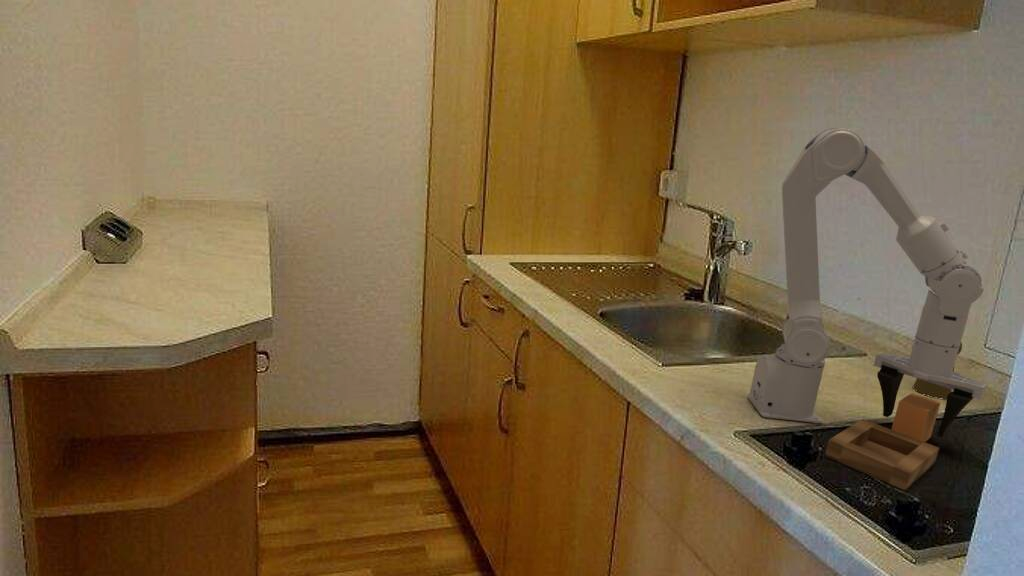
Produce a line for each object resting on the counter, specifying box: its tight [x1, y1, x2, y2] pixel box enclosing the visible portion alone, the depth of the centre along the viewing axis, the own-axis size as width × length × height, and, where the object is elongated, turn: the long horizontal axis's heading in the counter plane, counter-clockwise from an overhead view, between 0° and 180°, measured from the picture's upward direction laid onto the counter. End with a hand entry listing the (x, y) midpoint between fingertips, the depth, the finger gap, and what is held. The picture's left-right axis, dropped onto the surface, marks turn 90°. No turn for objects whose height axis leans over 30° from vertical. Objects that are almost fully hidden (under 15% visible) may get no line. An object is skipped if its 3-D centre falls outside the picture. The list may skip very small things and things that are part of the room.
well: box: [824, 418, 940, 491], centre depth 98 cm, size 12×10×2 cm
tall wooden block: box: [890, 392, 941, 443], centre depth 106 cm, size 6×4×6 cm, turn 134°
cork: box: [912, 341, 963, 400], centre depth 126 cm, size 6×6×11 cm
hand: (913, 424), depth 106 cm, fingers open, 7 cm apart
